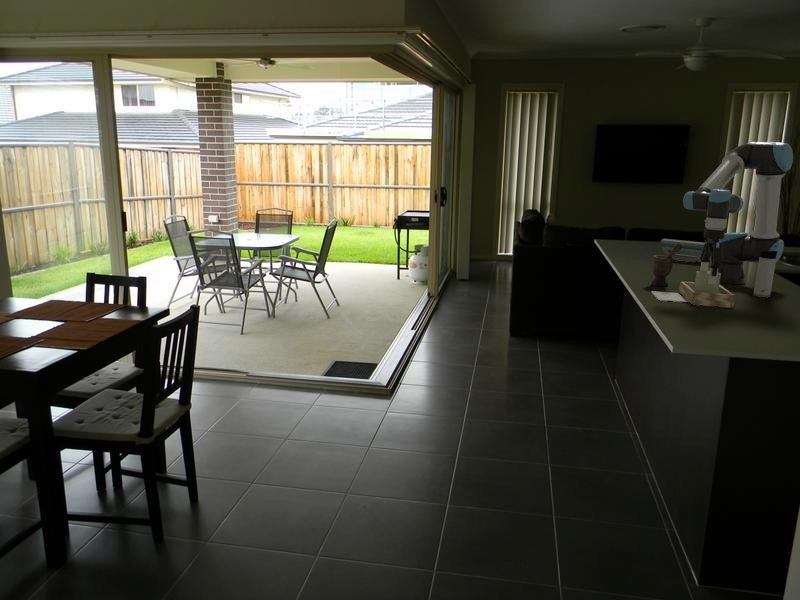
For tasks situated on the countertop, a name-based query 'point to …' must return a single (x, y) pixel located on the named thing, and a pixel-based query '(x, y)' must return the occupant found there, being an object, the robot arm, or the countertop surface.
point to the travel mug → (765, 273)
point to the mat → (668, 296)
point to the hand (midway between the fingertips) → (707, 280)
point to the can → (706, 283)
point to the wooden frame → (706, 296)
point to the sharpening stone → (683, 249)
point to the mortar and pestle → (663, 266)
